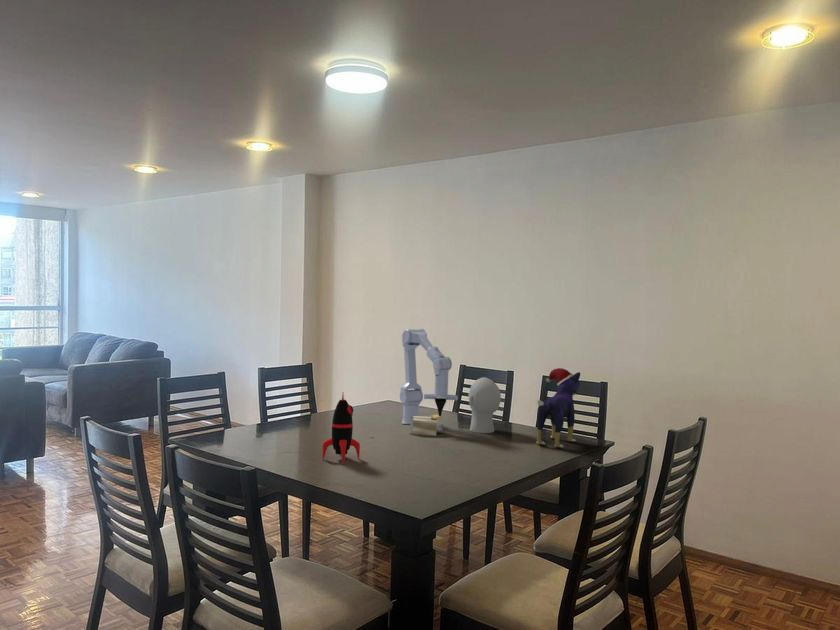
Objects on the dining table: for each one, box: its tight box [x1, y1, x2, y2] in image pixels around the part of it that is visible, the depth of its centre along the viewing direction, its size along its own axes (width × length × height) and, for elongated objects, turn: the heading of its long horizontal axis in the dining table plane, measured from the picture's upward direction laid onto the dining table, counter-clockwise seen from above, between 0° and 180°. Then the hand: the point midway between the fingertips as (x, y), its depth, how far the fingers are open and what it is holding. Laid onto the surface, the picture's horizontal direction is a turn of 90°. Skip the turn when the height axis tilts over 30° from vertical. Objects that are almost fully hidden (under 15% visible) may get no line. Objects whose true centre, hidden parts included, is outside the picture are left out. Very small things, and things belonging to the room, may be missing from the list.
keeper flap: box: [430, 413, 441, 420], centre depth 271 cm, size 6×1×4 cm
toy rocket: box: [322, 393, 361, 464], centre depth 223 cm, size 10×10×25 cm
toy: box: [536, 367, 581, 449], centre depth 259 cm, size 16×40×30 cm, turn 146°
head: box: [467, 376, 502, 434], centre depth 279 cm, size 14×18×25 cm
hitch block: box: [412, 415, 438, 436], centre depth 272 cm, size 10×10×6 cm
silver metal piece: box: [409, 417, 444, 435], centre depth 272 cm, size 7×14×6 cm, turn 91°
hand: (440, 416), depth 271 cm, fingers closed, pressing on keeper flap
